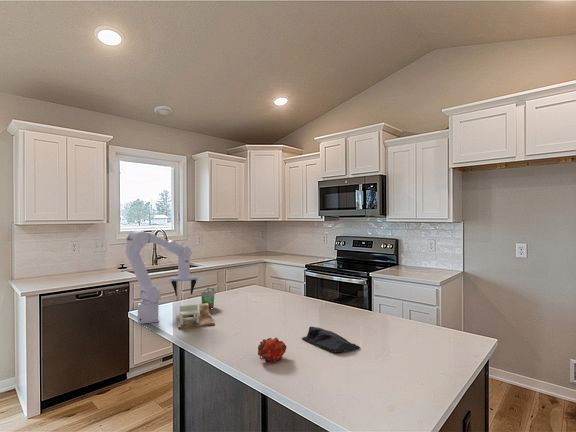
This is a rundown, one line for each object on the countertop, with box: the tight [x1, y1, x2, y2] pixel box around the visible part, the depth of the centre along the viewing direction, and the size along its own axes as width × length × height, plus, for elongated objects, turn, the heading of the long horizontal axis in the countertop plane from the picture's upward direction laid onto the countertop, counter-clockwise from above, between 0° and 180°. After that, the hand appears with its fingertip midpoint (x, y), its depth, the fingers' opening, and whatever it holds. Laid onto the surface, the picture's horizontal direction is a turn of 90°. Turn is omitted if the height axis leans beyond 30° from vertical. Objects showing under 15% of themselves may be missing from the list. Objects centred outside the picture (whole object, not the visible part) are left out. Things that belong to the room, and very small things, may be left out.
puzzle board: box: [176, 311, 216, 330], centre depth 159 cm, size 16×20×1 cm
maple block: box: [199, 303, 210, 316], centre depth 166 cm, size 4×4×5 cm
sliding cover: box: [179, 303, 200, 325], centre depth 154 cm, size 8×7×7 cm
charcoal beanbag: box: [301, 326, 361, 354], centre depth 131 cm, size 15×22×5 cm
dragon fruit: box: [257, 337, 287, 363], centre depth 116 cm, size 8×8×12 cm
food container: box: [200, 287, 217, 310], centre depth 182 cm, size 12×6×10 cm, turn 179°
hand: (183, 294), depth 173 cm, fingers open, 7 cm apart
